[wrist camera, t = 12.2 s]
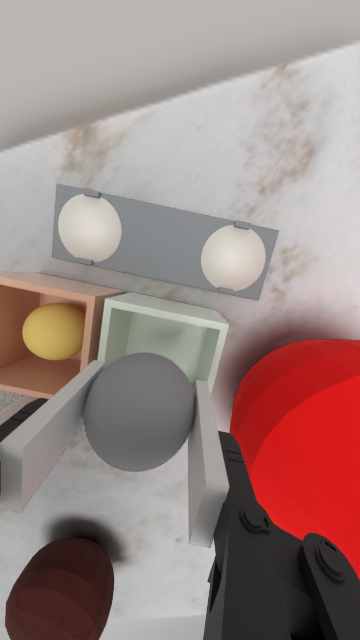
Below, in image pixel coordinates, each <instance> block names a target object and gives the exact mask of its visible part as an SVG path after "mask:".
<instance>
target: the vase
mask: <svg viewBox="0 0 360 640" xmlns="http://www.w3.org/2000/svg"><path fill="white" fill-rule="evenodd" d="M230 433H231V434H232V435H233V436H234V437H235V439H236V440H237V442H238V443H239V446H240V449H241V452H242V456H243V459H244V464H245V465H246V468H247V471H248V474H249V478H250V481H251V484H252V487H253V490H254V493H255V496H256V499H257V502H258V503H259V504H260V505H261V506H262V507H263V508H264V509H265V510H266V512H267V513H268V515H269V517H270V519H271V520H272V522H273V523H274V524H275V525H277V526H278V527H280V528H281V529H283V530H284V531H286V532H288V533H290V534H292V535H293V536H295V537H297V538H299V539H301V540H303V538H304V536H306V535H307V534H308V533H317V534H319V535H322V536H324V537H326V538H327V539H328V540H330V541H331V542H332V543H333V544H335V545H336V546H337V547H338V548H339V550H340V551H341V552H342V553H343V554H344V555H345V556H346V558H347V559H348V561H349V562H350V564H351V565H352V567H353V568H354V570H355V572H356V574H357V576H358V578H359V579H360V340H343V339H319V340H306V341H301V342H295V343H290V344H287V345H285V346H283V347H281V348H279V349H276V350H274V351H272V352H270V353H268V354H267V355H266V356H265V357H263V358H262V359H261V360H259V361H258V362H257V363H255V364H254V365H253V366H252V368H251V369H250V370H249V371H248V373H247V374H246V375H245V377H244V378H243V379H242V380H241V383H240V385H239V387H238V390H237V392H236V395H235V397H234V403H233V409H232V416H231V424H230Z"/></svg>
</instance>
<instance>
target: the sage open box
mask: <svg viewBox="0 0 360 640" xmlns="http://www.w3.org/2000/svg"><path fill="white" fill-rule="evenodd" d="M229 325H230V324H229V323H228V322H227V321H226V320H225V319H224V318H223V317H222V316H221V315H220V314H219V313H218V312H217V310H214V309H209V308H204V307H200V306H195V305H190V304H185V303H180V302H176V301H171V300H166V299H161V298H156V297H152V296H147V295H142V294H137V293H132V292H131V293H126V294H122V295H118V296H114V297H110V298H106V299H105V303H104V311H103V319H102V327H101V335H100V343H99V351H98V360H97V361H102V362H106V364H105V368H106V367H107V366H108V365H110V364H111V363H112V362H114V361H116V360H117V359H119V358H121V357H124V356H126V355H129V354H133V353H141V352H146V353H154V354H158V355H161V356H164V357H166V358H168V359H169V360H171V361H172V362H174V363H175V364H176V365H177V366H178V367H179V368H180V369H181V370H182V371H183V372H184V374H185V375H186V377H187V378H188V380H189V383H190V385H191V387H192V391H194V387H195V383H196V380H200V381H205V382H208V386H209V391H210V396H211V392H212V389H213V385H214V381H215V377H216V374H217V370H218V366H219V362H220V359H221V355H222V351H223V347H224V343H225V340H226V336H227V332H228V328H229Z"/></svg>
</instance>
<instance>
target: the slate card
mask: <svg viewBox="0 0 360 640" xmlns="http://www.w3.org/2000/svg"><path fill="white" fill-rule="evenodd" d="M278 232H279V230H274V229H269V228H265V227H260V226H255V225H251V224H250V223H245V222H240V221H232V220H227V219H222V218H217V217H213V216H208V215H203V214H198V213H194V212H189V211H184V210H179V209H175V208H170V207H165V206H161V205H156V204H151V203H146V202H142V201H137V200H132V199H127V198H123V197H118V196H113V195H108V194H104V193H100V192H98V191H94V190H89V189H84V188H83V189H80V188H75V187H71V186H66V185H61V184H57V186H56V202H55V218H54V233H53V249H52V257H53V258H57V259H62V260H67V261H72V262H77V263H81V264H86V265H91V266H96V267H100V268H105V269H110V270H115V271H120V272H124V273H129V274H134V275H139V276H144V277H148V278H153V279H158V280H163V281H168V282H172V283H177V284H182V285H187V286H191V287H196V288H201V289H206V290H211V291H215V292H220V293H225V294H230V295H235V296H239V297H244V298H249V299H254V300H259V297H260V294H261V290H262V287H263V284H264V280H265V277H266V273H267V270H268V266H269V263H270V259H271V256H272V252H273V249H274V246H275V242H276V239H277V235H278Z"/></svg>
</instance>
